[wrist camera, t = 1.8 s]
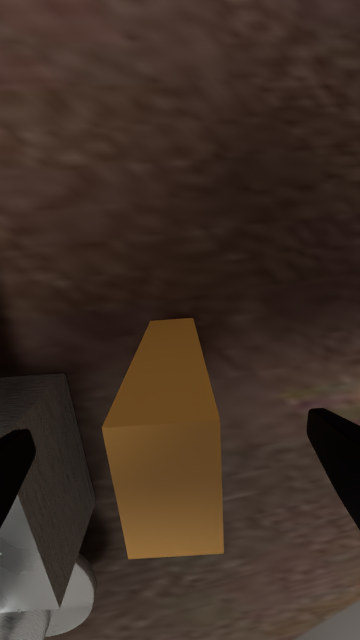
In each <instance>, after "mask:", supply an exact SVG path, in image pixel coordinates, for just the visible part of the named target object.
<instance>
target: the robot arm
mask: <svg viewBox="0 0 360 640" xmlns="http://www.w3.org/2000/svg"><path fill="white" fill-rule="evenodd" d="M307 435H308V438H309V440H310V442H311V444H312V446H313V448H314V450H315V452H316V454H317V456H318V458H319V460H320V462H321V464H322V466H323V468H324V469H325V471H326V473H327V475H328V477H329V479H330V481H331V483H332V485H333V487H334V489H335V491H336V492H337V494H338V496H339V497H340V499H341V501H342V502H343V504H344V506H345V507H346V509H347V510H348V512H349V514H350V515H351V517H352V518H353V520H354V522H355V523H356V525H357V527H358V528H359V530H360V426H359V425H357V424H355V423H353V422H351V421H349V420H347V419H345V418H343V417H341V416H339V415H337V414H335V413H333V412H331V411H329V410H327V409H324V408H314V409H310V410H309V412H308V420H307ZM35 455H36V447H35V443H34V440H33V437H32V434H31V431H30V430H29V429H16V430H13V431H11V432H10V433H8V434H6V435H4V436H3V437H1V438H0V528H1V526H2V525H3V523H4V521H5V519H6V517H7V515H8V513H9V511H10V509H11V507H12V505H13V503H14V501H15V499H16V497H17V495H18V492H19V490H20V488H21V486H22V484H23V482H24V480H25V477H26V475H27V473H28V471H29V469H30V467H31V465H32V462H33V460H34V458H35Z"/></svg>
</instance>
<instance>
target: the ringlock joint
mask: <svg viewBox="0 0 360 640" xmlns="http://www.w3.org/2000/svg"><path fill="white" fill-rule="evenodd" d="M16 429H29V430H30V431H31V434H32V437H33V440H34V443H35V447H36V455H35V458H34V460H33V462H32V465H31V467H30V469H29V471H28V473H27V475H26V477H25V480H24V482H23V484H22V486H21V488H20V490H19V492H18V495H17V497H16V499H15V501H14V503H13V505H12V507H11V509H10V511H9V513H8V515H7V517H6V519H5V521H4V523H3V525H2V526H1V528H0V640H44V638H45V637H48V636H54V635H58V634H61V633H64V632H67V631H70V630H72V629H73V628H75V627H77V626H78V625H80V624H81V623H82V622H83V621H84V620H85V619H86V618H87V617H88V615H89V614H90V611H91V609H92V605H93V601H94V597H95V593H96V589H97V578H96V574H95V571H94V569H93V568H92V566H91V564H90V563H89V562H88V561H87V560H86V559H85V558H84V557H83V556H82V555H81V554H80V553H79V550H80V547H81V544H82V541H83V539H84V536H85V533H86V530H87V527H88V524H89V521H90V518H91V515H92V512H93V509H94V506H95V503H96V499H95V495H94V491H93V487H92V483H91V478H90V474H89V470H88V466H87V462H86V458H85V454H84V449H83V445H82V441H81V437H80V433H79V429H78V425H77V420H76V416H75V412H74V408H73V404H72V400H71V395H70V391H69V387H68V383H67V379H66V375H65V373H56V374H42V375H28V376H14V377H0V438H1V437H3V436H4V435H6V434H8V433H10V432H11V431H13V430H16Z"/></svg>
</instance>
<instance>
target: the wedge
mask: <svg viewBox="0 0 360 640" xmlns="http://www.w3.org/2000/svg"><path fill="white" fill-rule="evenodd" d="M102 432H103V437H104V442H105V447H106V451H107V456H108V461H109V466H110V471H111V476H112V481H113V485H114V490H115V495H116V500H117V505H118V510H119V515H120V520H121V524H122V529H123V534H124V539H125V544H126V549H127V554H128V559H140V558H157V557H173V556H189V555H206V554H222V553H224V543H223V507H222V471H221V435H220V418H219V414H218V410H217V406H216V403H215V399H214V395H213V391H212V387H211V384H210V380H209V376H208V372H207V368H206V365H205V361H204V357H203V353H202V349H201V346H200V342H199V338H198V334H197V331H196V327H195V323H194V319H193V318H183V319H169V320H156V321H150V323H149V325H148V327H147V329H146V332H145V334H144V336H143V338H142V340H141V343H140V345H139V347H138V349H137V351H136V354H135V356H134V358H133V360H132V362H131V365H130V367H129V369H128V371H127V373H126V376H125V378H124V380H123V382H122V384H121V387H120V389H119V391H118V393H117V395H116V398H115V400H114V402H113V404H112V406H111V409H110V411H109V413H108V415H107V417H106V420H105V422H104V424H103V426H102Z"/></svg>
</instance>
